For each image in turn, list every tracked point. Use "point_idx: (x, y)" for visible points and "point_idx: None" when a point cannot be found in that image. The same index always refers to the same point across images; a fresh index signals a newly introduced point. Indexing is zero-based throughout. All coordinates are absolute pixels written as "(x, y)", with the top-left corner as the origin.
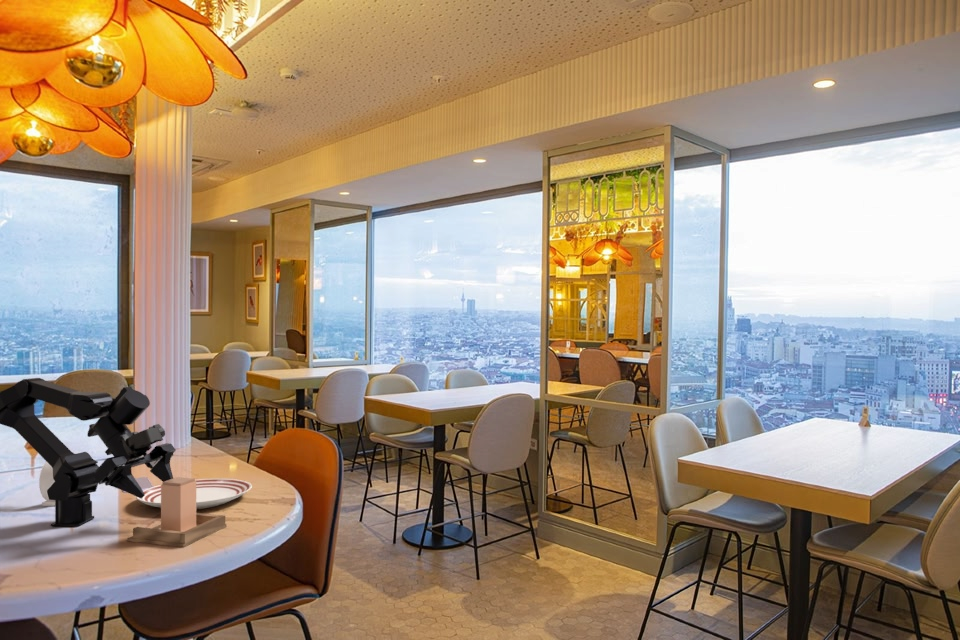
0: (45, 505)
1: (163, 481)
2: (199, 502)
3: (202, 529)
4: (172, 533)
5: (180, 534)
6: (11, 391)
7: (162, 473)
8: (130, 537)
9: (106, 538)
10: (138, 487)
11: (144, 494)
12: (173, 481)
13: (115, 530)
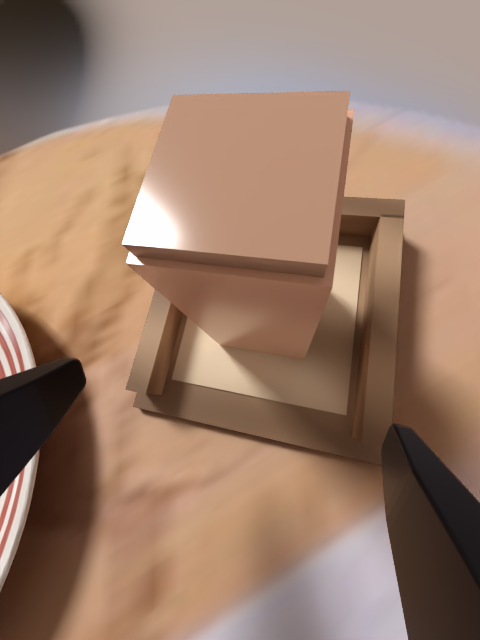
0: None
1: (22, 464)
2: (30, 348)
3: None
4: (401, 249)
5: (402, 218)
6: None
7: None
8: (371, 458)
9: (365, 593)
10: (463, 503)
11: (395, 425)
12: (287, 181)
13: (254, 616)
